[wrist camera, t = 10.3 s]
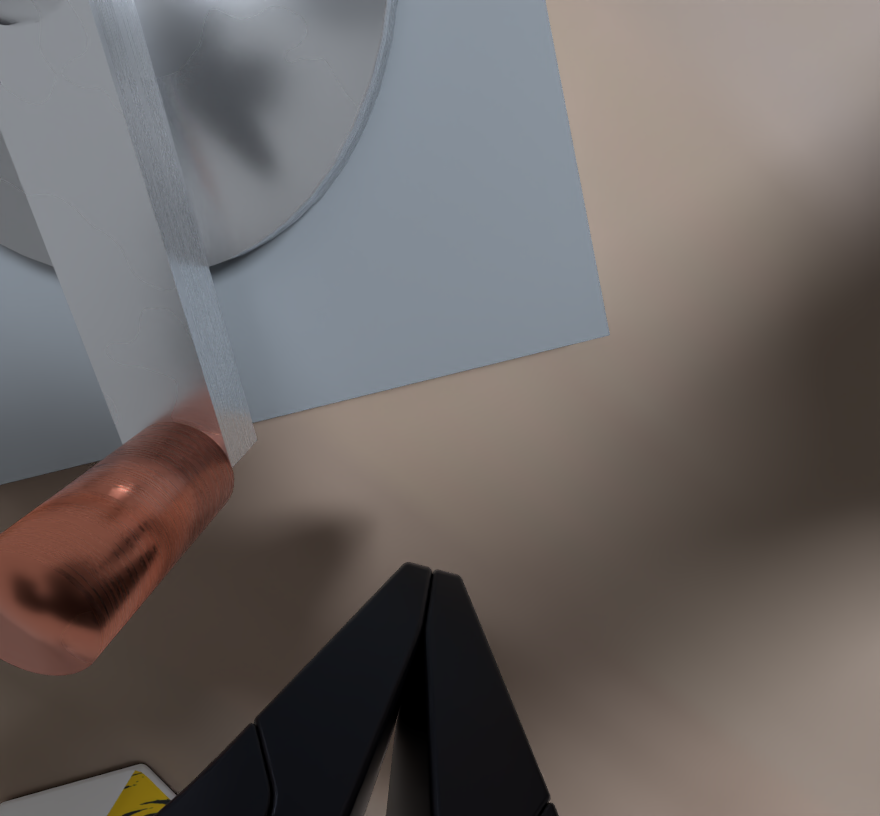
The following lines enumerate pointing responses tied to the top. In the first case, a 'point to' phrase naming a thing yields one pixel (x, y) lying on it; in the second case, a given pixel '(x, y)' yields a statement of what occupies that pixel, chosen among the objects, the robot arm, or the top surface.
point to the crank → (158, 258)
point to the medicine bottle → (98, 796)
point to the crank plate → (367, 249)
